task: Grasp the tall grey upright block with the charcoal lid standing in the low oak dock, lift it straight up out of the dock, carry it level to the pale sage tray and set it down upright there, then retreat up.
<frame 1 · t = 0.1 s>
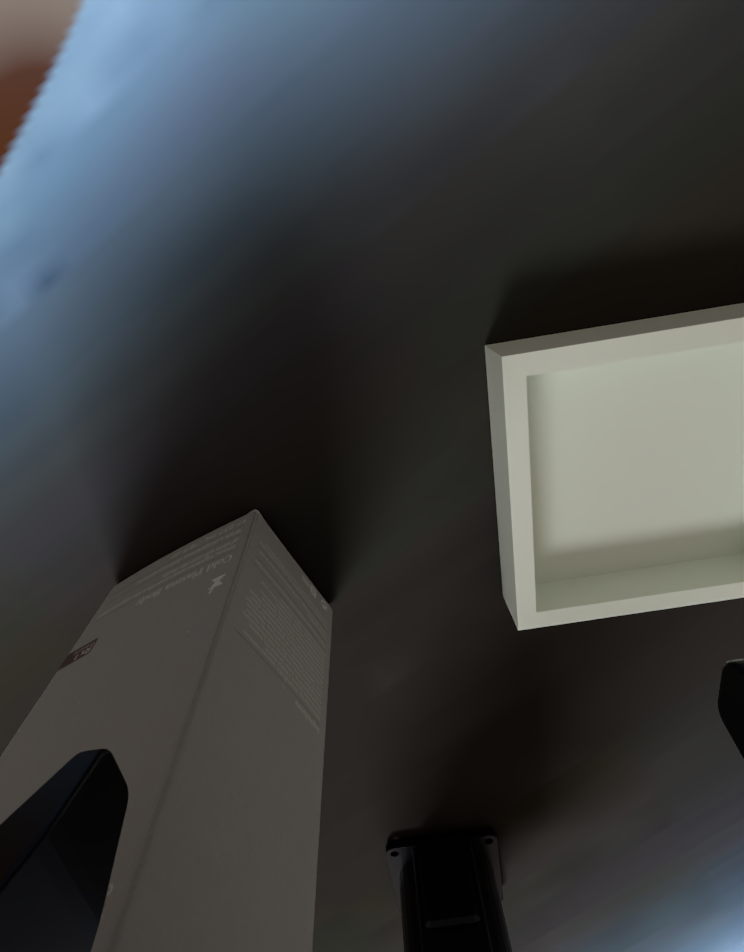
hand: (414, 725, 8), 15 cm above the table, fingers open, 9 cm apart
skincare box: (227, 601, 24), on the table
tray: (631, 461, 22), on the table
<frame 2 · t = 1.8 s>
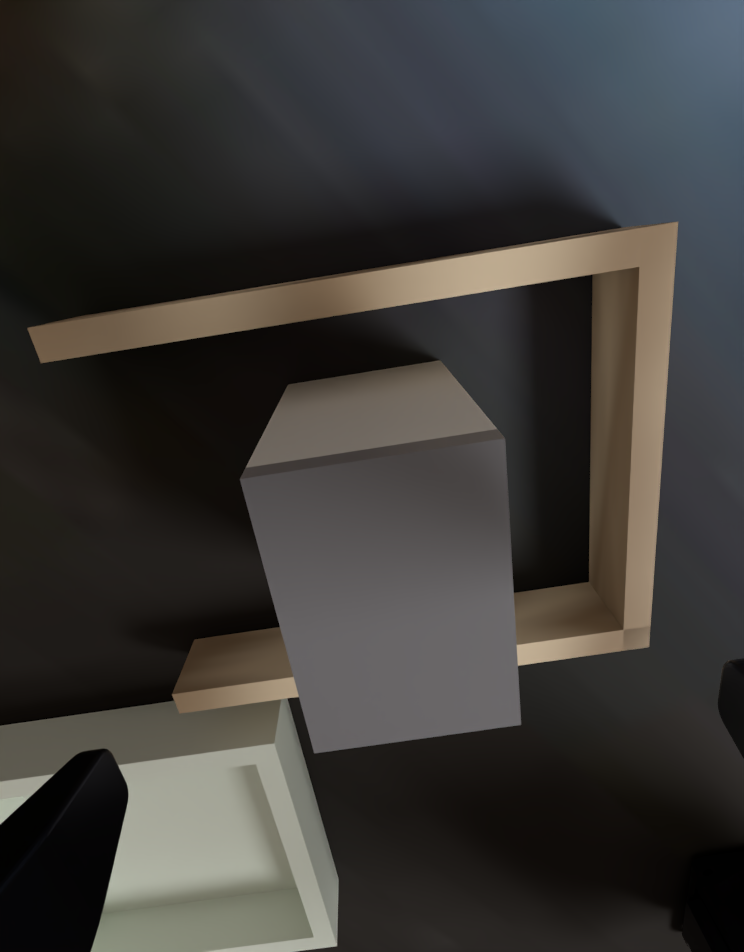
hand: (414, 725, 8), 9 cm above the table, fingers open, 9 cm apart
dock: (380, 475, 16), on the table
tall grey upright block: (386, 527, 13), in the dock
tray: (175, 811, 22), on the table
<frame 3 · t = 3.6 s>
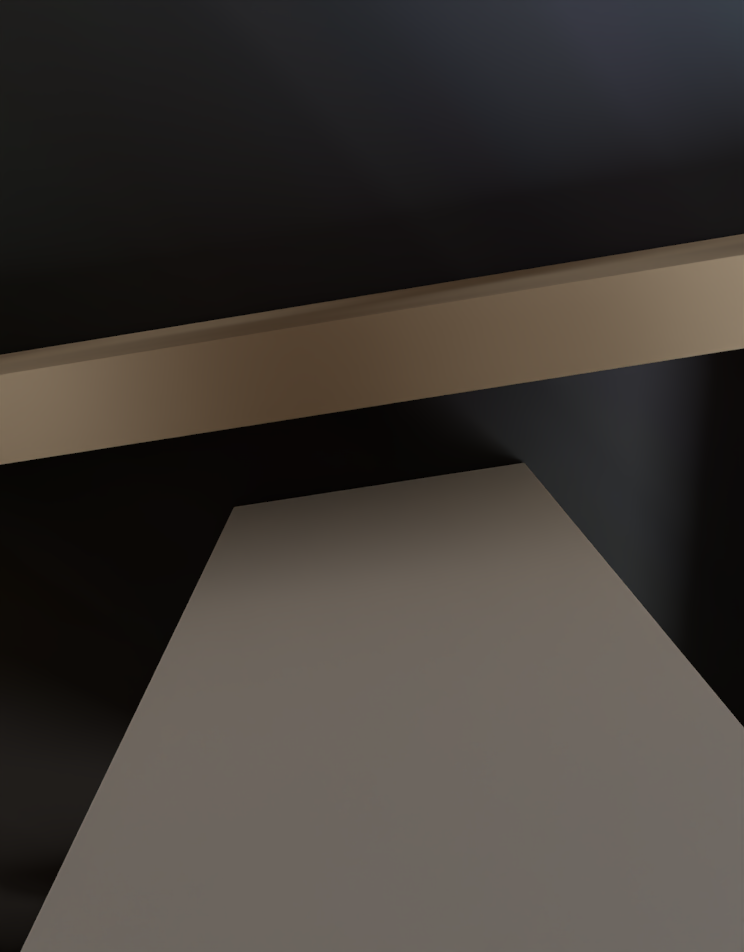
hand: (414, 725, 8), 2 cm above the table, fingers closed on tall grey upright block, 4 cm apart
dock: (404, 653, 9), on the table
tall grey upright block: (433, 868, 6), in the dock, touching gripper
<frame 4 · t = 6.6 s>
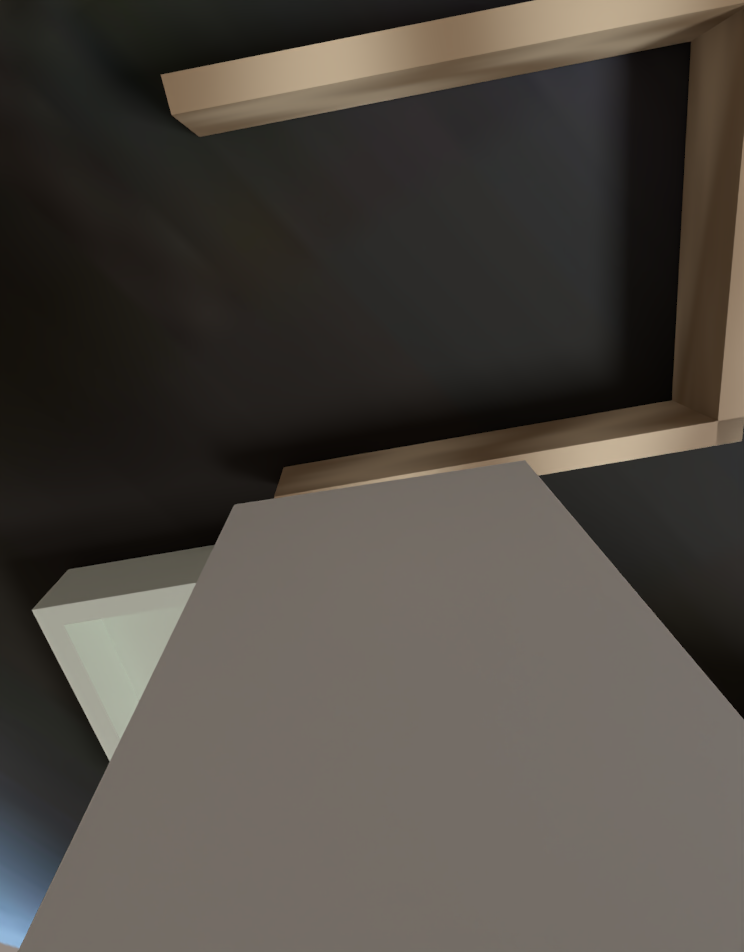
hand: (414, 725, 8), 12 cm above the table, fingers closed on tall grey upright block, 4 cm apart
dock: (473, 280, 17), on the table
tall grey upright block: (433, 866, 6), point 14 cm above the table, touching gripper
tray: (255, 662, 22), on the table
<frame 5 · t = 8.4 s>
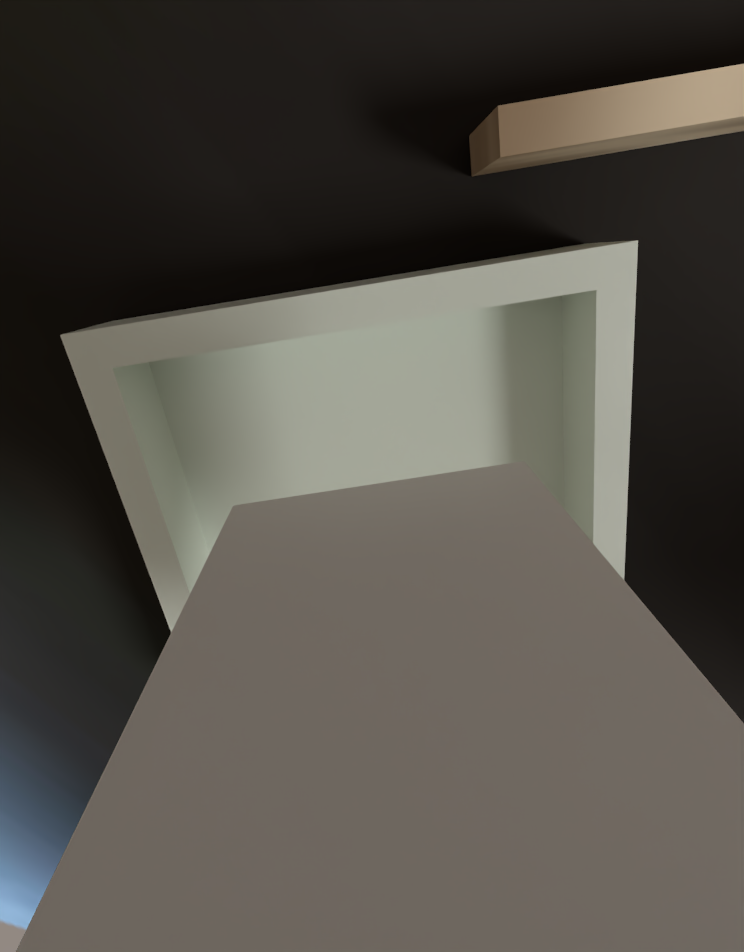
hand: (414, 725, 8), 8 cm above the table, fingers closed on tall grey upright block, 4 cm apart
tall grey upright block: (432, 868, 6), point 10 cm above the table, touching gripper
tray: (380, 497, 15), on the table
when the fingers open (4 cm above the table, at t = 9.9 s): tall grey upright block drops 2 cm, resting on tray.
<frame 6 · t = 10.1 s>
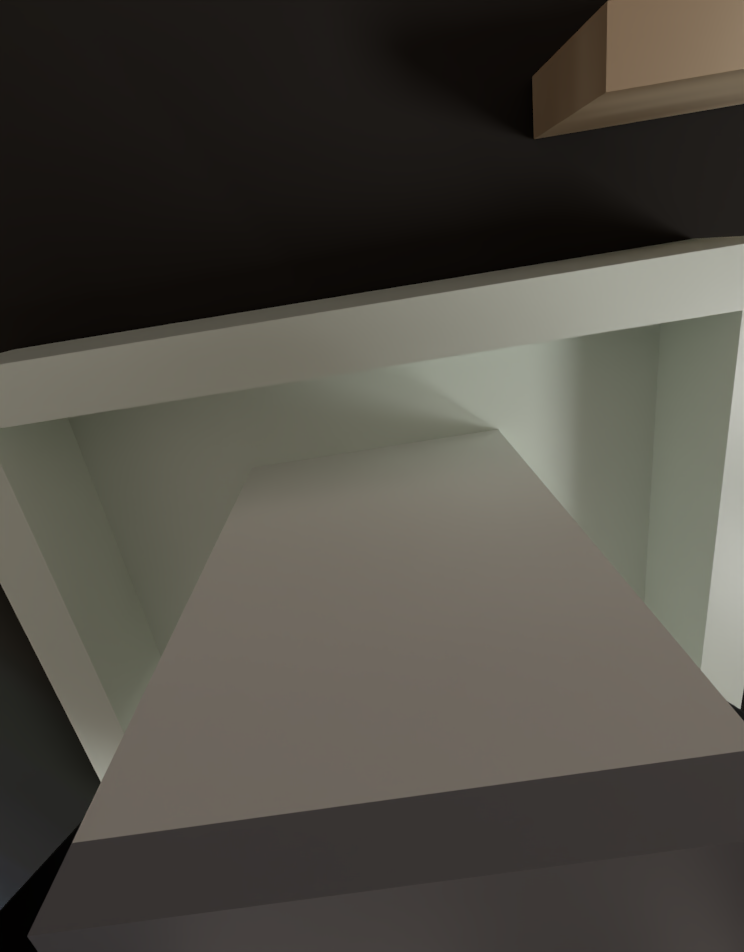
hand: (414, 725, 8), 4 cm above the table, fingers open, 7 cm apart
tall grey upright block: (418, 748, 7), in the tray, point 4 cm above the table
tray: (394, 582, 11), on the table
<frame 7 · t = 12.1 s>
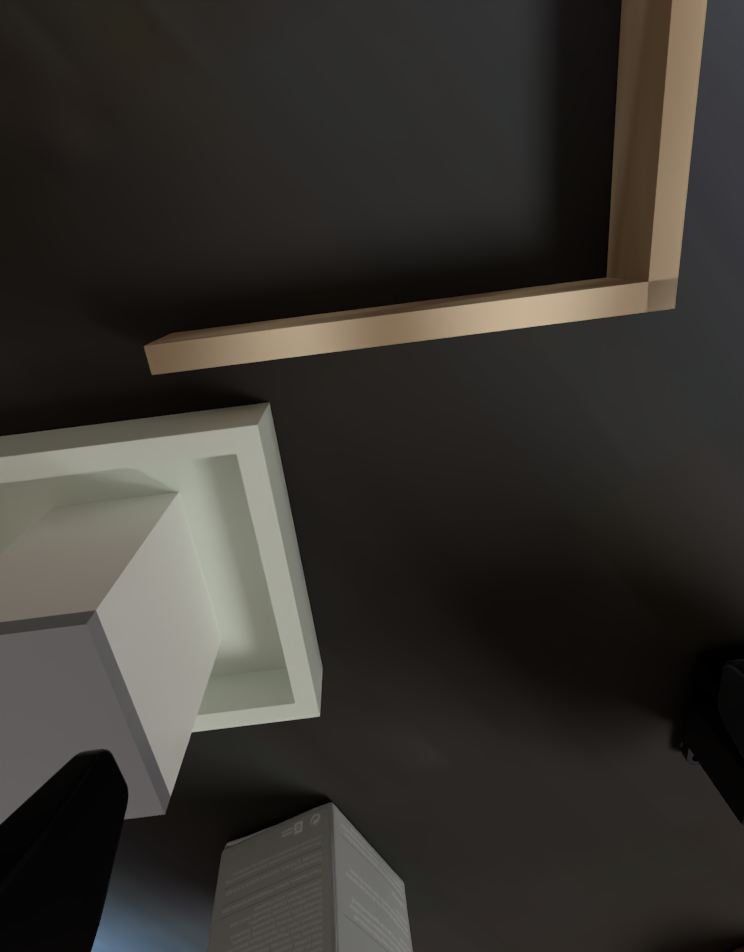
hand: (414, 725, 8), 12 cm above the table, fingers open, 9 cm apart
dock: (383, 111, 15), on the table
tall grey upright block: (101, 642, 16), in the tray, point 4 cm above the table
skincare box: (326, 856, 27), on the table
tray: (147, 569, 20), on the table
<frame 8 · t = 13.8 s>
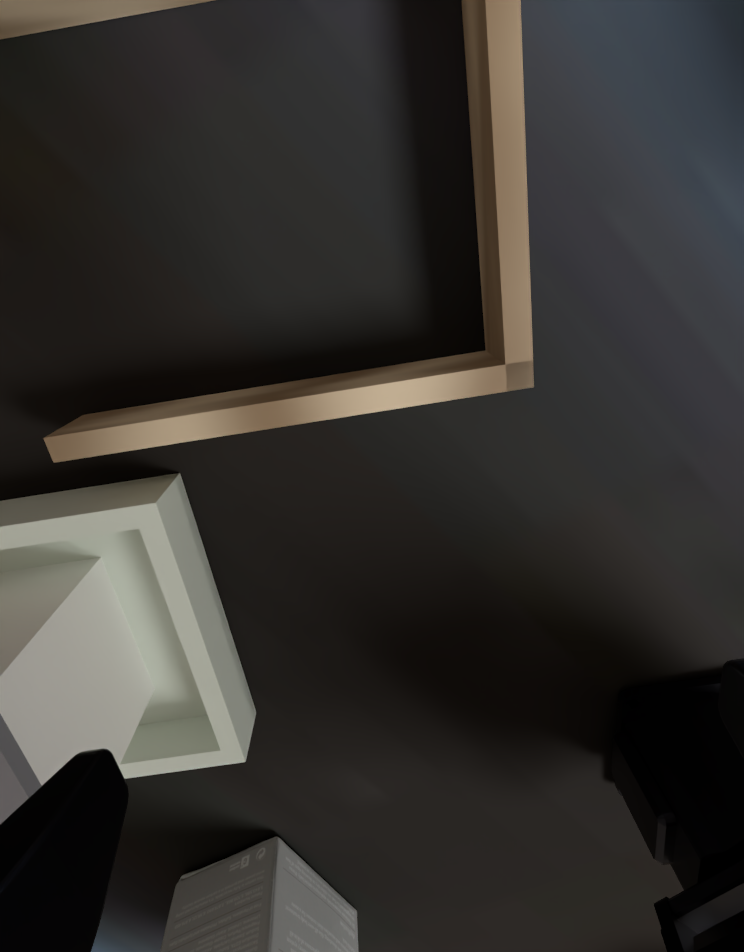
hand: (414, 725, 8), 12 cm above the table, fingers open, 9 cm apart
dock: (258, 214, 16), on the table
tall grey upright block: (23, 704, 17), in the tray, point 4 cm above the table
skincare box: (279, 886, 28), on the table
tray: (81, 625, 21), on the table
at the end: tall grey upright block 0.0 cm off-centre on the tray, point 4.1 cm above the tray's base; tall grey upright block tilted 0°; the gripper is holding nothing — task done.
